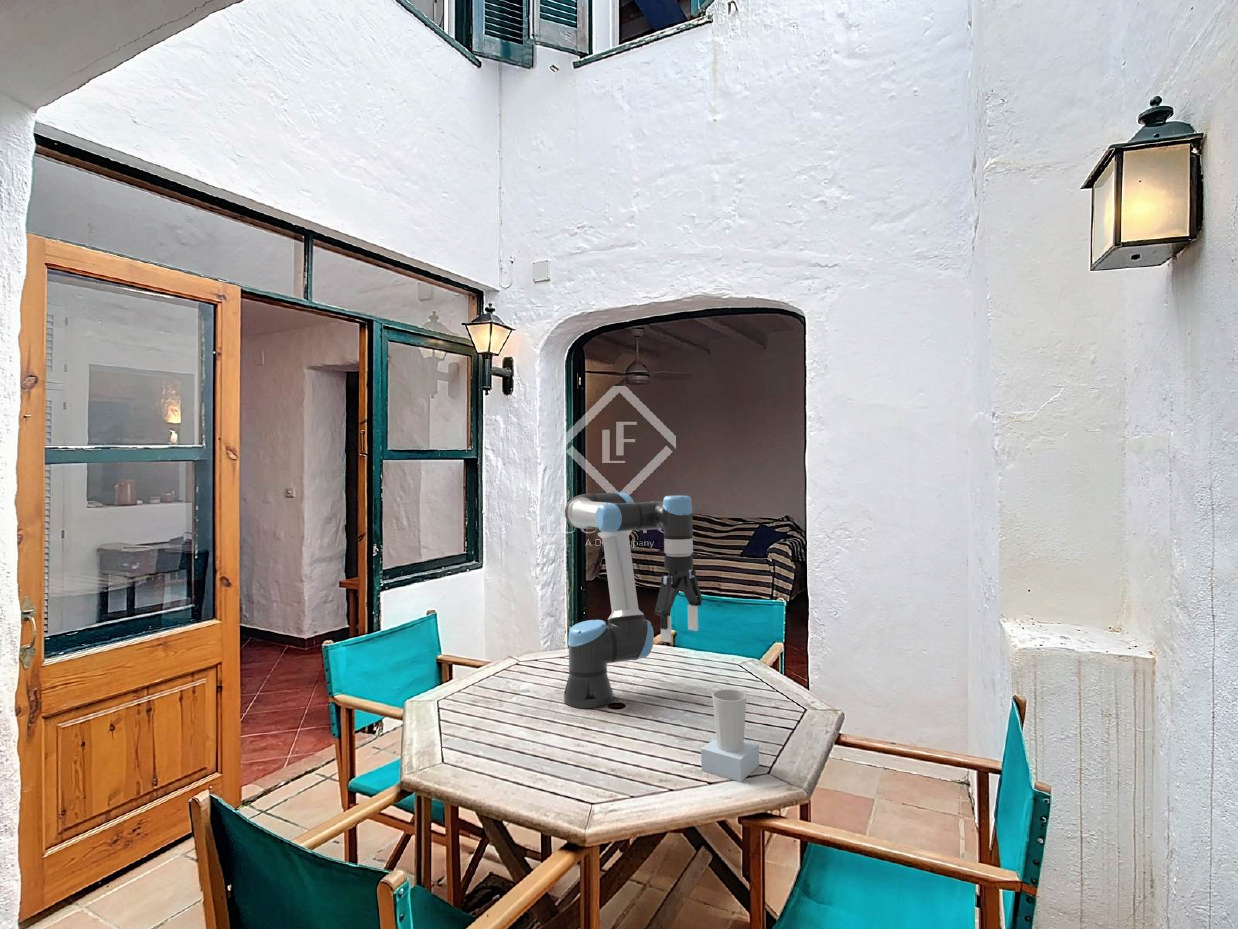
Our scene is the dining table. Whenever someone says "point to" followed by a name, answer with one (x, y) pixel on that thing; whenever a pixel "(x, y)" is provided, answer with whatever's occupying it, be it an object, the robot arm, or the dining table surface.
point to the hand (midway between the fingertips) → (680, 635)
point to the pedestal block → (730, 760)
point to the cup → (729, 719)
